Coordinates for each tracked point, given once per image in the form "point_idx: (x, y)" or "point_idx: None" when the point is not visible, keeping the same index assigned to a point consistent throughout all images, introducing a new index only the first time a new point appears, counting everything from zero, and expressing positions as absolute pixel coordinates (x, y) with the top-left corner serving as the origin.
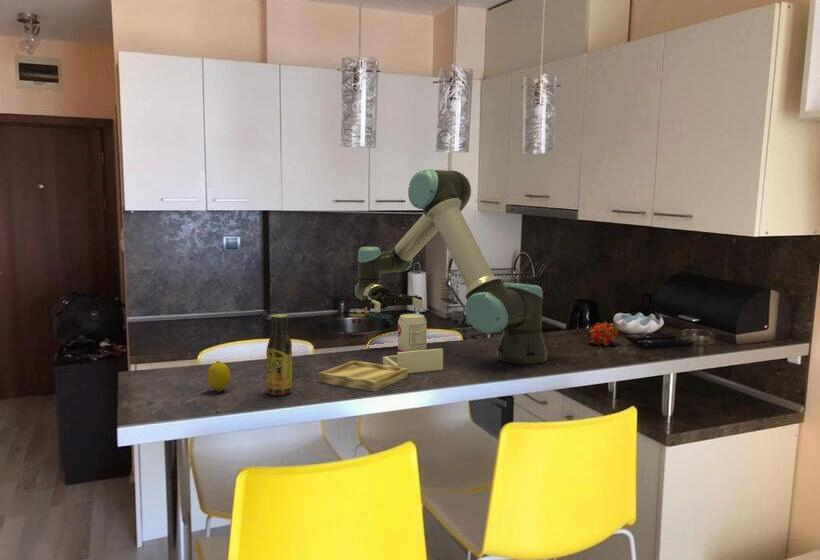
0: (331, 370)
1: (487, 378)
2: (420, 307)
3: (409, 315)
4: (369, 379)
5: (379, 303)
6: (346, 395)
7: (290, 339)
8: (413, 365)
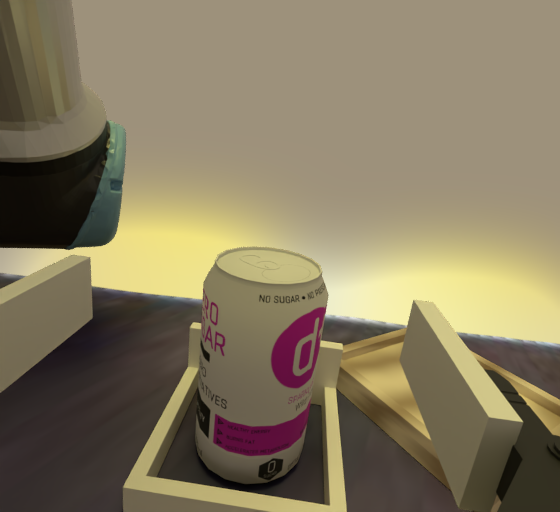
0: (556, 426)
1: (164, 309)
2: (90, 303)
3: (269, 274)
4: None
5: (421, 301)
6: (475, 348)
7: None
8: None
